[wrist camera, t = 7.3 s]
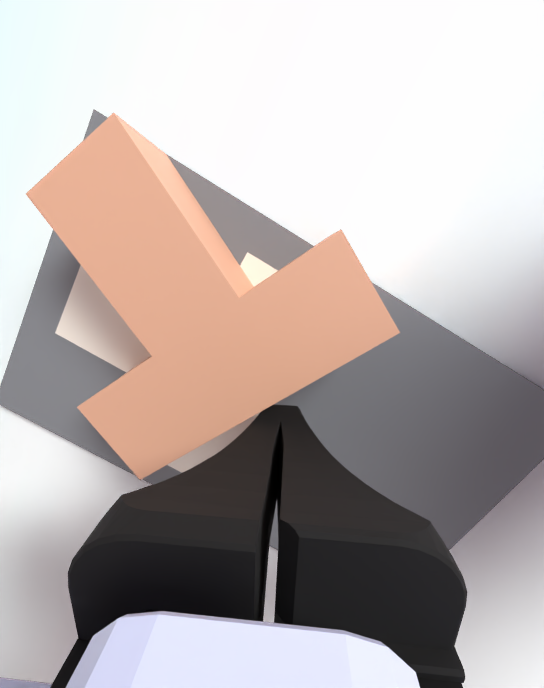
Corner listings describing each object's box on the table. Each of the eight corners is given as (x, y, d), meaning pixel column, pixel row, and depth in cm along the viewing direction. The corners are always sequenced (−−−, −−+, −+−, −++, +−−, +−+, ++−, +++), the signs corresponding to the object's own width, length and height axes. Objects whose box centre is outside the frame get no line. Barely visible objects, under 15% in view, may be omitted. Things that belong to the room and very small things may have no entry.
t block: (371, 312, 11) (399, 333, 8) (175, 428, 13) (140, 480, 10) (242, 91, 9) (218, 15, 6) (40, 261, 11) (-49, 262, 8)
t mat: (577, 411, 12) (587, 416, 11) (386, 599, 15) (388, 608, 14) (101, 115, 10) (93, 109, 10) (3, 397, 13) (-6, 402, 13)
